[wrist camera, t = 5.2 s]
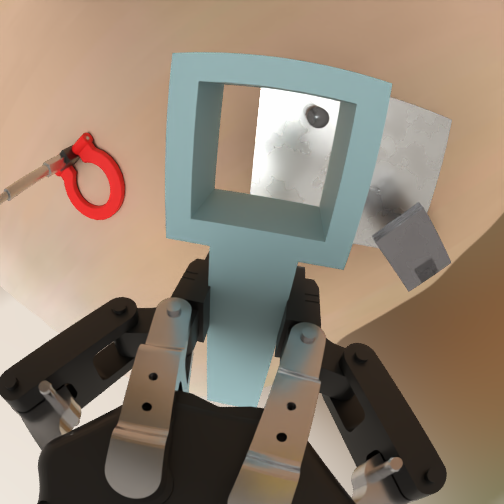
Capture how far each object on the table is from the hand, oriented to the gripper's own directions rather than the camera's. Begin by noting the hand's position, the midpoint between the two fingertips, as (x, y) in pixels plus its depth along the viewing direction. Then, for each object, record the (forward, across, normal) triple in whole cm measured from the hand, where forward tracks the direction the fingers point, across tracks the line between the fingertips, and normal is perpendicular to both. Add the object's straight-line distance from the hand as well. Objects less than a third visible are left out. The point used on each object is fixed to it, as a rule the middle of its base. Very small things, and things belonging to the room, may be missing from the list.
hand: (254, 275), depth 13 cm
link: (0, 0, 0) cm, 0 cm away
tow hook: (+16, +21, +2) cm, 26 cm away
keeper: (+15, -13, +2) cm, 20 cm away
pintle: (+15, -2, -7) cm, 17 cm away
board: (+15, -7, -3) cm, 17 cm away
